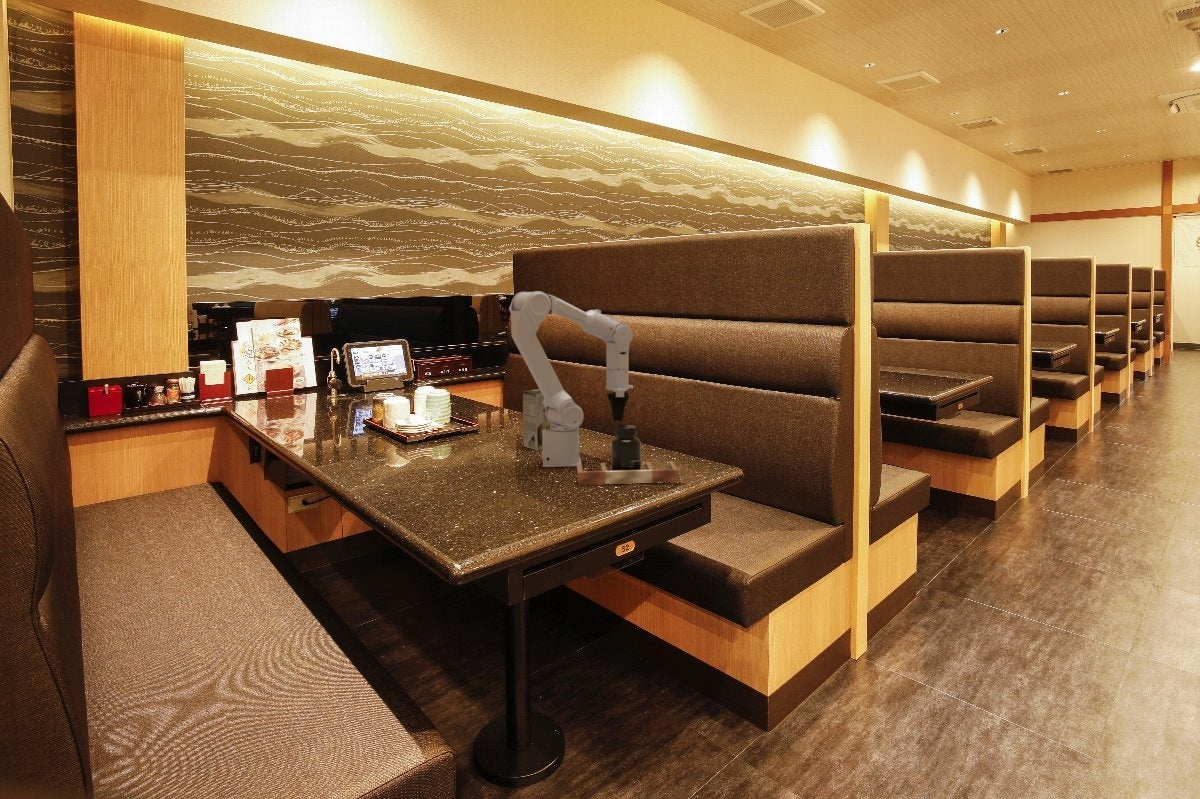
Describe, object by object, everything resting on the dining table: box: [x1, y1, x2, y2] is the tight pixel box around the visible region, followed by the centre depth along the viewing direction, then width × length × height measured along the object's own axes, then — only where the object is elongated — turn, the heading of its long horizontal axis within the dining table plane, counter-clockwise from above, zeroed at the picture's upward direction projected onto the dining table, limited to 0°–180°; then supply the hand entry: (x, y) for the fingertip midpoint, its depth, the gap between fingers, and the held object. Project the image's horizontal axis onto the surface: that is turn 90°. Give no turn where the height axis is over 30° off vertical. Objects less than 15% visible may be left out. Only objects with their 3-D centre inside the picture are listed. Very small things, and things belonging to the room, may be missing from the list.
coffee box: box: [521, 388, 550, 451], centre depth 192 cm, size 9×6×16 cm
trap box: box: [576, 460, 680, 487], centre depth 158 cm, size 22×8×3 cm, turn 93°
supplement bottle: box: [610, 424, 642, 471], centre depth 159 cm, size 7×7×12 cm
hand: (617, 420), depth 181 cm, fingers closed
